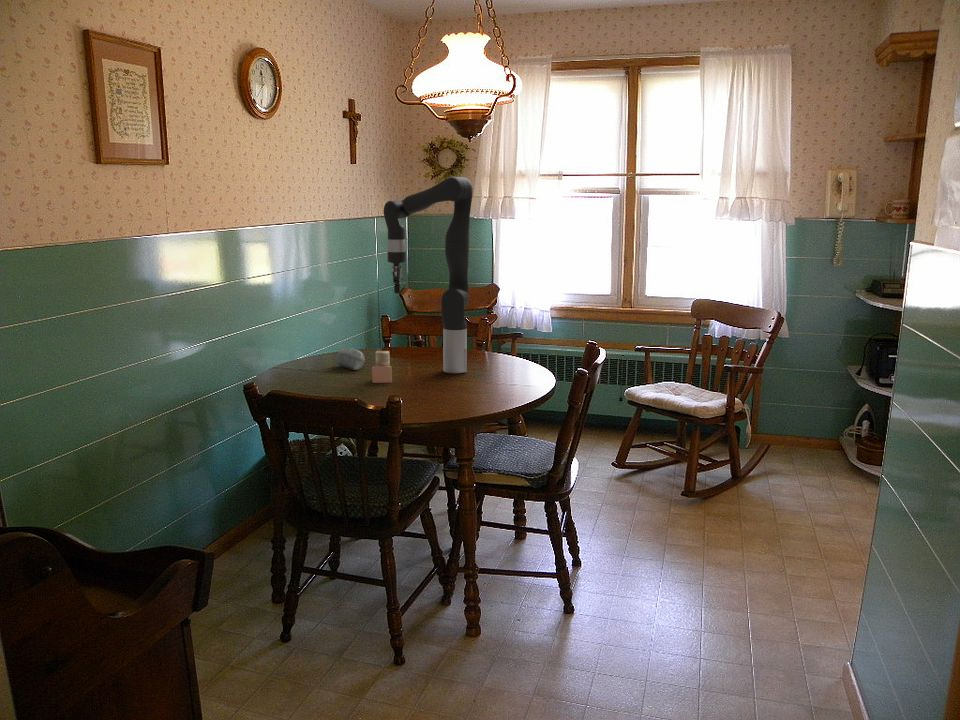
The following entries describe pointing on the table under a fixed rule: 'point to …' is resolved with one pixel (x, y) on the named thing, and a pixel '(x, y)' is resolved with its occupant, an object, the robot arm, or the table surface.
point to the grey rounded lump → (350, 358)
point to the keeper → (382, 358)
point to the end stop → (382, 374)
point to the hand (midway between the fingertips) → (397, 292)
